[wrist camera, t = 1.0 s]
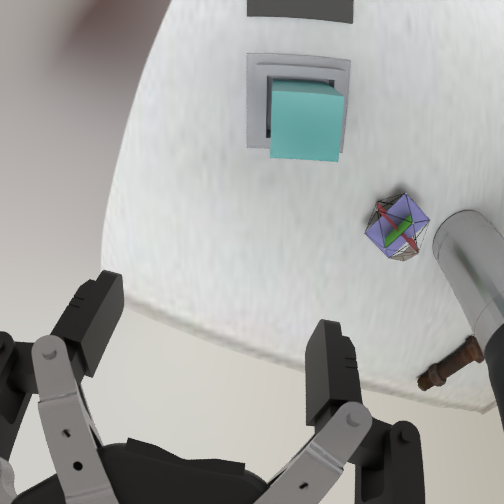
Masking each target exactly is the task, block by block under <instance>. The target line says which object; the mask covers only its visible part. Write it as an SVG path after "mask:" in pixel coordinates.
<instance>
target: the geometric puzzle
mask: <svg viewBox="0 0 504 504" xmlns="http://www.w3.org/2000/svg"><path fill="white" fill-rule="evenodd" d="M397 196H398V195H397ZM401 196H402V197H401ZM401 196H400V197H401V198H400V199H399V200H398V201H397V202H396V203H395V204H392V205H393V206H392V207H391V208H390V209H389V210H388V211H386V210H385V209H384V208H383V207H384V206H383V207H382V206H381V205H380V204H379V203H378V202H380V201H381V200H380V201H377V211H376V212H377V214H378V212H379V213H380V216H381V215H382V216H381V218H380V219H379V220H378V221H377V222H376V223H375V224H374V225H373V226H372V227H371V228H369V229H368V228H366V230H367V229H368V230H367V231H365V233H364V234H366V235H367V236H368V237H369V238H370V239H371V240H372V241H373V242H374V243H375V244H376V246H377V247H378V248H379V249H380V250H381V251H382V252H383V253H384V254H385V255H386V256H387V257H388V259H389V258H391V259H396V260H401V261H405V260H407V259H410V258H412V257H413V256H415V255H417V254H419V250H420V249H418V247H417V242H416V243H415V240H416V235H415V239H414V240H413V239H412V238H411V237H412V236H413V238H414V234H415V233H416V232H418V231H419V230H420V229H421V228H422V227H423V226H424V225H425V224H426V223H428V222H429V221H430V219H429V218H428V217H427V216H426V215H425V214H424V213H423V211H422V210H421V209H420V208H419V207H418V206H417V205H416V204H415V203H414V202H413V200H412V199H411V198H410V197H409V196H408V195H407V194H406V193H404V194H403V195H402V194H401ZM394 197H395V196H394ZM390 198H391V197H390ZM398 198H399V197H398ZM398 198H396V199H398ZM387 199H388V198H387ZM396 199H395V200H396ZM383 200H384V199H383ZM393 201H394V200H393ZM393 201H391V202H393ZM391 202H390V203H387V204H386V205H388V204H391ZM381 203H385V202H381ZM386 205H385V206H386ZM375 206H376V205H375ZM374 209H375V208H374ZM373 211H374V210H373ZM372 214H373V213H372ZM375 214H376V213H375ZM374 216H375V215H374ZM373 218H374V217H373ZM373 218H372V219H373ZM378 218H379V215H378ZM370 219H371V218H370ZM371 221H372V220H371ZM369 222H370V221H369ZM370 223H371V222H370ZM368 224H369V223H368ZM428 224H429V223H428ZM369 225H370V224H369ZM426 225H427V224H426ZM426 225H425V226H426ZM367 227H369V226H367ZM427 227H428V226H427ZM423 229H424V228H423ZM423 229H422V230H423ZM426 230H427V229H426ZM421 232H422V231H421ZM421 232H420V233H421ZM420 233H419V234H420ZM425 233H426V232H425ZM418 236H419V235H418ZM418 236H417V237H418ZM424 236H425V235H424ZM423 239H424V238H423ZM406 242H408V243H409V244H410V246H409V247H408V248H407V249H406V250H405V251H401V252H403V253H401V254H398V255H396V256H393V255H394V253H395V252H396V251H397V250H398V249H399V248H400V247H401V246H402V245H403V244H405V243H406ZM409 244H408V245H409ZM408 245H407V246H408ZM405 247H406V246H405ZM405 247H404V248H405ZM420 247H421V246H420ZM402 249H403V248H402ZM402 249H401V250H402ZM399 251H400V250H399ZM399 251H398V252H399ZM396 253H397V252H396ZM396 253H395V254H396ZM392 254H393V255H392ZM391 255H392V256H393V257H391Z"/></svg>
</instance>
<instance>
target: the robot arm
mask: <svg viewBox="0 0 504 504" xmlns="http://www.w3.org/2000/svg"><path fill="white" fill-rule="evenodd" d="M433 252H434V256H435V258H436V260H437V261H438V263H439V265H440V267H441V269H442V270H443V272H444V274H445V276H446V278H447V280H448V282H449V284H450V286H451V287H452V289H453V291H454V293H455V295H456V297H457V299H458V301H459V303H460V305H461V307H462V309H463V311H464V313H465V315H466V318H467V320H468V322H469V324H470V326H471V328H472V330H473V333H474V335H475V337H476V339H477V341H478V344H479V346H480V348H481V351H482V353H483V356H484V358H485V360H486V363H487V365H488V370H489V378H490V382H491V386H492V389H493V392H494V395H495V398H496V402H497V405H498V409H499V413H500V417H501V421H502V426H503V430H504V238H503V236H502V235H501V234H500V233H499V232H498V230H497V229H496V228H495V227H494V226H493V225H492V223H488V222H487V220H486V219H485V218H484V217H483V216H482V215H481V214H480V213H478V212H475V211H470V210H468V211H462V212H459V213H456V214H455V215H453V216H451V217H450V218H449V219H447V220H446V221H445V222H444V223H443V224H442V226H441V227H440V229H439V230H438V232H437V234H436V236H435V239H434V243H433ZM123 308H124V292H123V280H122V275H121V274H118V273H114V272H111V271H107V270H103V271H102V272H101V274H100V275H99V277H98V278H97V280H96V281H94V280H91V279H90V280H88V281H87V282H85V283H84V284H83V285H81V286H80V287H79V289H78V290H77V292H76V294H75V295H74V298H72V299H71V301H70V303H69V305H68V306H67V307H66V309H65V311H64V313H63V314H62V316H61V317H60V319H59V321H58V322H57V324H56V326H55V327H54V329H53V331H52V332H51V334H50V335H46V336H43V337H41V338H39V339H38V340H37V341H36V342H35V343H26V342H14V340H13V338H12V337H11V335H9V334H8V333H6V332H2V331H0V504H318V503H319V502H320V501H321V500H322V498H323V497H324V496H325V495H326V494H327V492H328V491H329V490H330V489H331V487H332V486H333V485H334V484H335V482H336V481H337V480H338V479H339V477H340V476H341V474H342V473H343V471H344V469H343V466H344V465H345V464H346V462H349V463H352V464H355V504H425V486H424V472H423V460H422V450H421V441H420V434H419V432H418V429H417V428H416V427H415V426H414V425H413V424H412V423H410V422H408V421H398V422H397V423H395V424H394V425H391V424H388V423H385V422H383V421H380V420H377V419H375V418H373V417H372V416H371V413H370V412H369V410H368V409H367V408H366V407H365V406H364V405H363V403H362V396H361V388H360V380H359V373H358V370H357V368H358V366H357V361H356V352H355V347H354V345H353V344H352V342H351V340H350V338H349V337H346V336H342V332H341V325H340V323H339V322H335V321H329V320H324V319H321V320H320V321H319V323H318V325H317V326H316V328H315V330H314V332H313V334H312V336H311V338H310V339H309V341H308V344H307V347H306V352H305V371H306V425H307V426H315V434H314V435H313V436H312V437H311V438H310V439H309V440H308V441H307V442H306V444H305V445H304V446H303V447H302V448H301V449H300V450H299V451H298V452H297V454H296V455H295V456H294V457H293V458H292V459H291V460H290V461H289V462H288V463H287V464H286V465H285V466H284V467H283V468H282V469H281V470H280V471H279V472H278V473H277V474H276V475H275V476H274V477H273V478H271V479H270V481H269V482H267V483H266V482H265V481H264V480H262V478H260V477H259V476H257V475H255V474H254V473H252V472H250V471H248V470H245V463H240V462H233V461H227V460H221V459H196V460H186V459H182V458H180V457H178V456H176V455H174V454H172V453H170V452H168V451H166V450H164V449H162V448H160V447H158V446H156V445H153V444H149V443H145V442H142V441H138V440H135V439H132V438H128V440H127V443H115V444H109V445H106V446H103V443H102V441H101V438H100V436H99V433H98V431H97V429H96V427H95V424H94V422H93V419H92V416H91V413H90V411H89V407H88V405H87V401H86V398H85V395H84V392H83V389H82V385H81V381H82V379H83V377H84V375H86V376H89V377H92V378H93V376H94V373H95V371H96V369H97V367H98V364H99V362H100V360H101V358H102V355H103V353H104V351H105V349H106V346H107V344H108V342H109V340H110V338H111V336H112V333H113V331H114V329H115V327H116V325H117V323H118V321H119V319H120V317H121V314H122V312H123ZM32 394H39V397H40V402H38V409H39V414H40V418H41V422H42V426H43V430H44V434H45V437H46V441H47V444H48V448H49V451H50V454H51V457H52V460H53V463H54V466H55V469H56V472H57V473H56V474H54V475H53V476H51V477H49V478H47V479H46V480H44V481H42V482H40V483H38V484H37V485H35V486H33V487H31V488H29V489H28V490H26V491H24V492H22V493H20V494H19V495H18V496H17V494H16V492H15V489H14V471H13V468H12V466H11V465H10V464H9V462H8V461H9V458H10V454H11V451H12V448H13V445H14V442H15V439H16V436H17V433H18V431H19V428H20V425H21V422H22V419H23V416H24V414H25V411H26V409H27V406H28V404H29V401H30V398H31V396H32Z"/></svg>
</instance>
